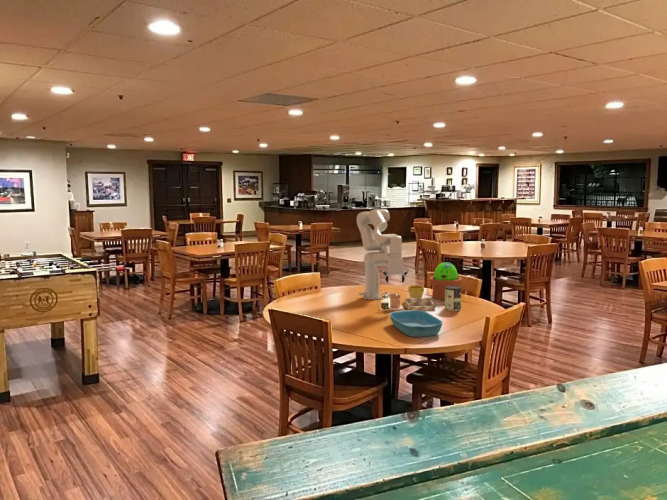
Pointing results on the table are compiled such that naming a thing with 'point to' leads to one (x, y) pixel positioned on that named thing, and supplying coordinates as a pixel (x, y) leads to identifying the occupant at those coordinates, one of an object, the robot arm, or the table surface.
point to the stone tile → (397, 308)
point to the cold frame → (419, 304)
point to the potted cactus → (444, 279)
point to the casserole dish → (416, 323)
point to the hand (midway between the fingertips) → (395, 282)
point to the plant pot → (415, 291)
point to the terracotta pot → (395, 300)
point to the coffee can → (453, 298)
